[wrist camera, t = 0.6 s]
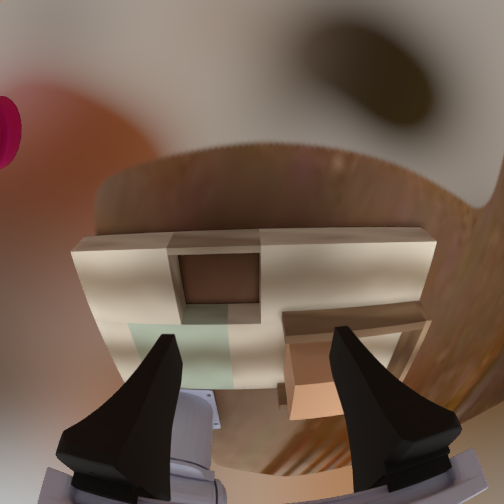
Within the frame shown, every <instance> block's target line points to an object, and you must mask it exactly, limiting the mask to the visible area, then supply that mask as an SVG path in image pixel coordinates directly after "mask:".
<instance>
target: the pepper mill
mask: <svg viewBox="0 0 504 504" xmlns="http://www.w3.org/2000/svg"><path fill="white" fill-rule="evenodd" d="M20 140H21V119H20V114H19V112H18V109H17V107H16V105H15V104H14V103H13V101H12V100H10V99H9V98H7V97H4V96H0V169H2V168H4V167H6V166H7V165H8V164H10V162H11V161H12V160H13V158H14V157H15V155H16V153H17V151H18V148H19V144H20Z"/></svg>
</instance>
